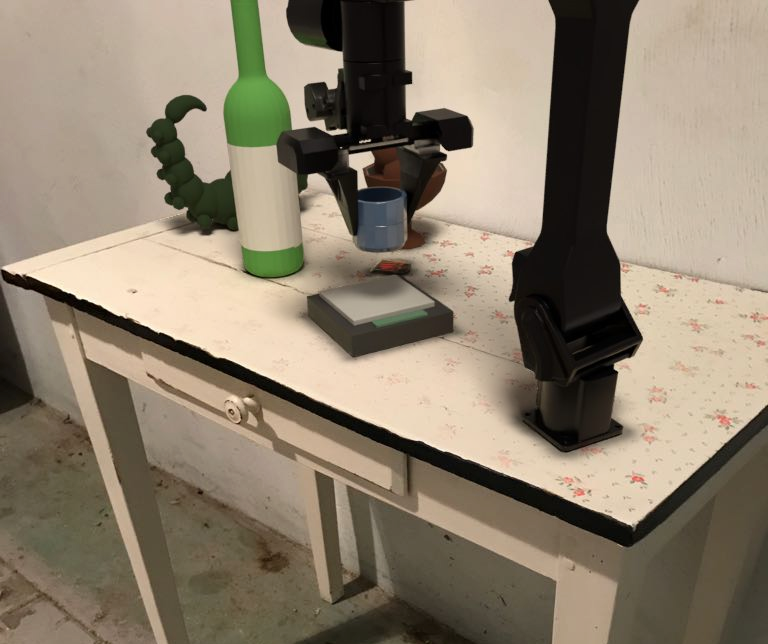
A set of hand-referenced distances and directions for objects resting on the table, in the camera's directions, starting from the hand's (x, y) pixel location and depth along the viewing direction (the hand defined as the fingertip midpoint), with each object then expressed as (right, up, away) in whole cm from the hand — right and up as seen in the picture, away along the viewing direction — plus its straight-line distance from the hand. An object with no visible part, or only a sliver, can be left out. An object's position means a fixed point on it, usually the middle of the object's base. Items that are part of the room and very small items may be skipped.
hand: (379, 229), depth 84 cm
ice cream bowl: (+3, +8, +28) cm, 29 cm away
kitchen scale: (0, -8, +7) cm, 11 cm away
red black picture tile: (+2, +2, +20) cm, 20 cm away
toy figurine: (-19, +14, +37) cm, 44 cm away
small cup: (0, -1, +1) cm, 2 cm away
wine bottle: (-14, +2, +21) cm, 25 cm away
